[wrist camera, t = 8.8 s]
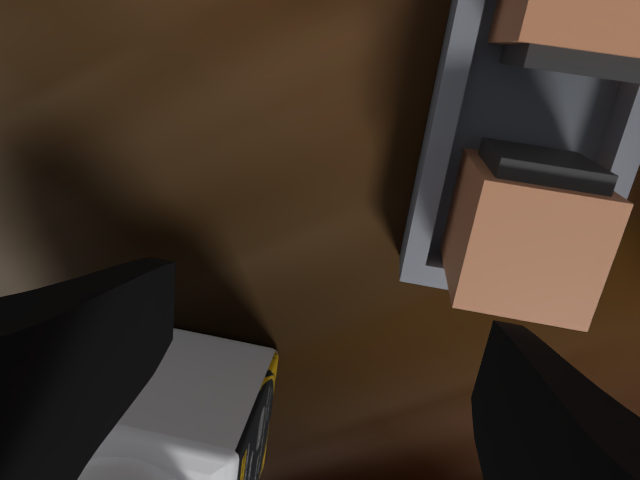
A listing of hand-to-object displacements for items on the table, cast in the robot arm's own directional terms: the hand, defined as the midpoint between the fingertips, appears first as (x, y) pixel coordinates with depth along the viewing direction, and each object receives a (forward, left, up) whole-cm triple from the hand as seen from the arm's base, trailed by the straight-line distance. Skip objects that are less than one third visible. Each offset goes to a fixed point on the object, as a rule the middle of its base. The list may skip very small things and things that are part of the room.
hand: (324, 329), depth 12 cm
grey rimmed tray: (-6, -5, -10) cm, 13 cm away
